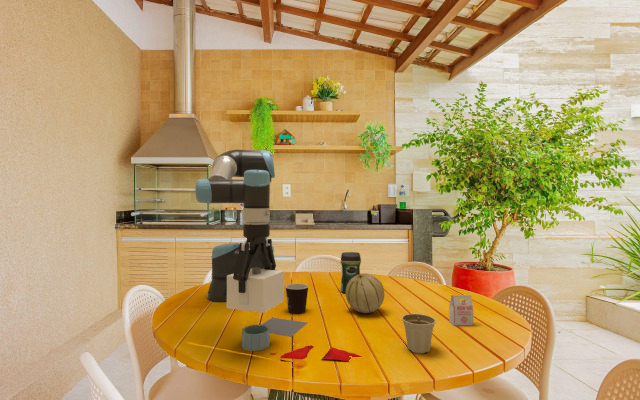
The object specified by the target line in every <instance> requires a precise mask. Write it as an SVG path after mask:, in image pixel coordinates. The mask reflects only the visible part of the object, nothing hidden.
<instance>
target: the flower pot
mask: <svg viewBox="0 0 640 400" xmlns="http://www.w3.org/2000/svg"><path fill="white" fill-rule="evenodd" d="M401 320H402V321H403V325H404V330H405V331H404V332H405V338H406V345H407V349H408V350H410V351H411V352H413V353H416V354H425V353H429V352H430V351H431V344H432V338H433V332H434V331H433V330H434V327H435V324H436V323H437V321H436V318H434V317H432V316H430V315H428V314H422V313H408V314H404V315H402V316H401Z"/></svg>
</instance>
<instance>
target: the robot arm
mask: <svg viewBox="0 0 640 400" xmlns="http://www.w3.org/2000/svg"><path fill="white" fill-rule="evenodd" d="M211 166H212V167H211V168H212V170H211V172H210V174H209V176H208V178H206V177H205V178H200V179H197V180H196V182H195V199H196V201H197V202H198V203H199V204H208V205H209V204H243V210H242V211H243V213H242V220H243V221H242V222H243V223H245V224H243V226H242V229H243V233H242V234H243V237H244V238H246V239H245V241H244V242H240V243H239V242H230V243H224V244H219V245H216V246H214V247H213V248H212V249H211V250H212V251H211V257H210V258H211V281H210V284H209V288H208V291H207V293H206V294H207V297H206V298H207V300H209V301H211V302H217V303H218V302H220V303H222V302H227V275H231V274H234V275H233V279H235V280H238V282H239V290H238V291H239V304H242V305H249V280H247V278H248V275H249V272H250V270H251V268H261V269H265V270H276V268H277V264H276V259H275V258H276V257H275V255H274V254H275V253H274V251H275V248H274V247H275V246H273V240H272V239H271V238H268V237H270V234H271V230H270V224H269V223H270V215H271V211H270V204H271V203H270V202H271V201H270V200H271V199H270V196H271V189H270V188H271V187H270V186H271V183H272V179H274V178H275V177H276V176H275V175H276V173H275V164H274V159H273V154H272V152H271V151H269V150H262V149H259V150H258V149H230V150H228V151H225V152H223V153H221V154H219V155H217V156H216V157H215V159H214V160H213V162H212V165H211ZM233 178H243V179H233Z"/></svg>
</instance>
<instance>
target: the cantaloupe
mask: <svg viewBox="0 0 640 400" xmlns="http://www.w3.org/2000/svg"><path fill="white" fill-rule="evenodd" d="M345 298H346V301H347V303H348V305H349V306H350V309H351V308H352V309H353V310H354V311H356V312H358V313H361V314H371V313H374V312H375V311H377V310H378V309H379V308H381V306H382V305H383V303H384V300H385V289H384V286H383V283H382V282H381V280H380V279H379V278H377V277H376V276H375V275H373V274H370V273H360V274H359V275H356V276H355V277H353V278H352V279H350V281H349V282H348V284H347V287H346V293H345Z"/></svg>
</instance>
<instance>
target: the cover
mask: <svg viewBox="0 0 640 400" xmlns="http://www.w3.org/2000/svg"><path fill="white" fill-rule="evenodd" d="M233 275H234V274H231V275H227V301H226V309H230V310H231V309H232V310H238V311H245V312H255V313H260V314H261V313H262V314H264V313H267V311H269V310H271V309H273V308H275V307H277V306H278V305H280V304H282V303H283V302H285V271H284V270H276V269H275V270H265V269H261V268H251V270H250V272H249V275H248V278H247V280H249V305H242V304H239V291H238V290H239V282H238V280H235V279H233Z"/></svg>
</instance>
